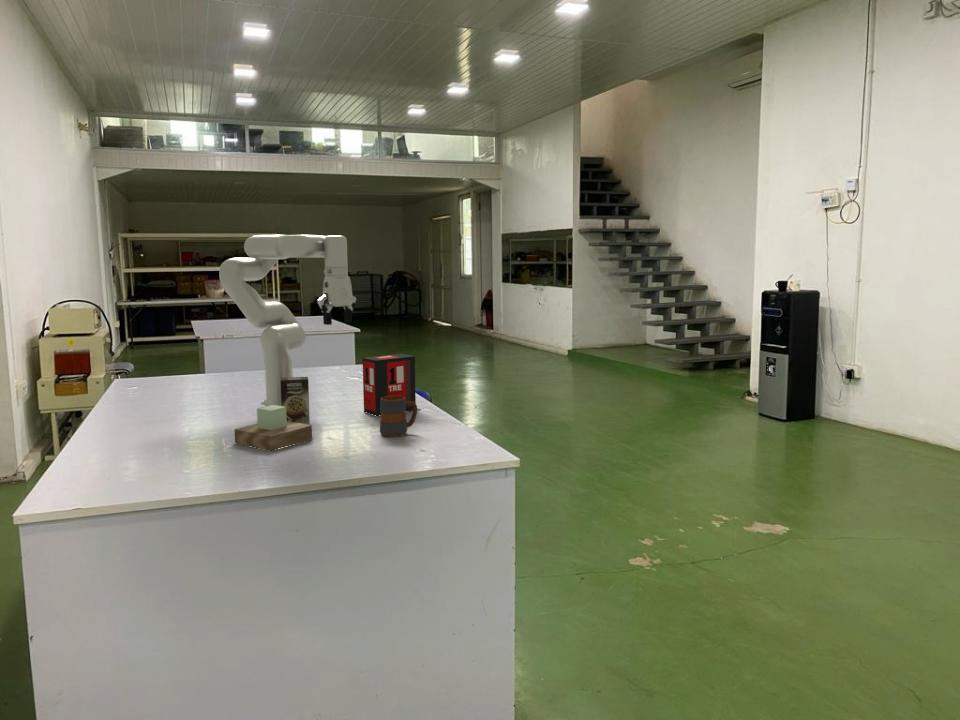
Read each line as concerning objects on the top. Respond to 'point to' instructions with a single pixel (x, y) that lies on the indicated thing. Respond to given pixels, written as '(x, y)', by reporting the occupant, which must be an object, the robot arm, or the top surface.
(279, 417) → the sage cube
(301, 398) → the coffee box
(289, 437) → the walnut block
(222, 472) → the top surface
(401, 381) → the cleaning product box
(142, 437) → the top surface
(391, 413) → the mug
